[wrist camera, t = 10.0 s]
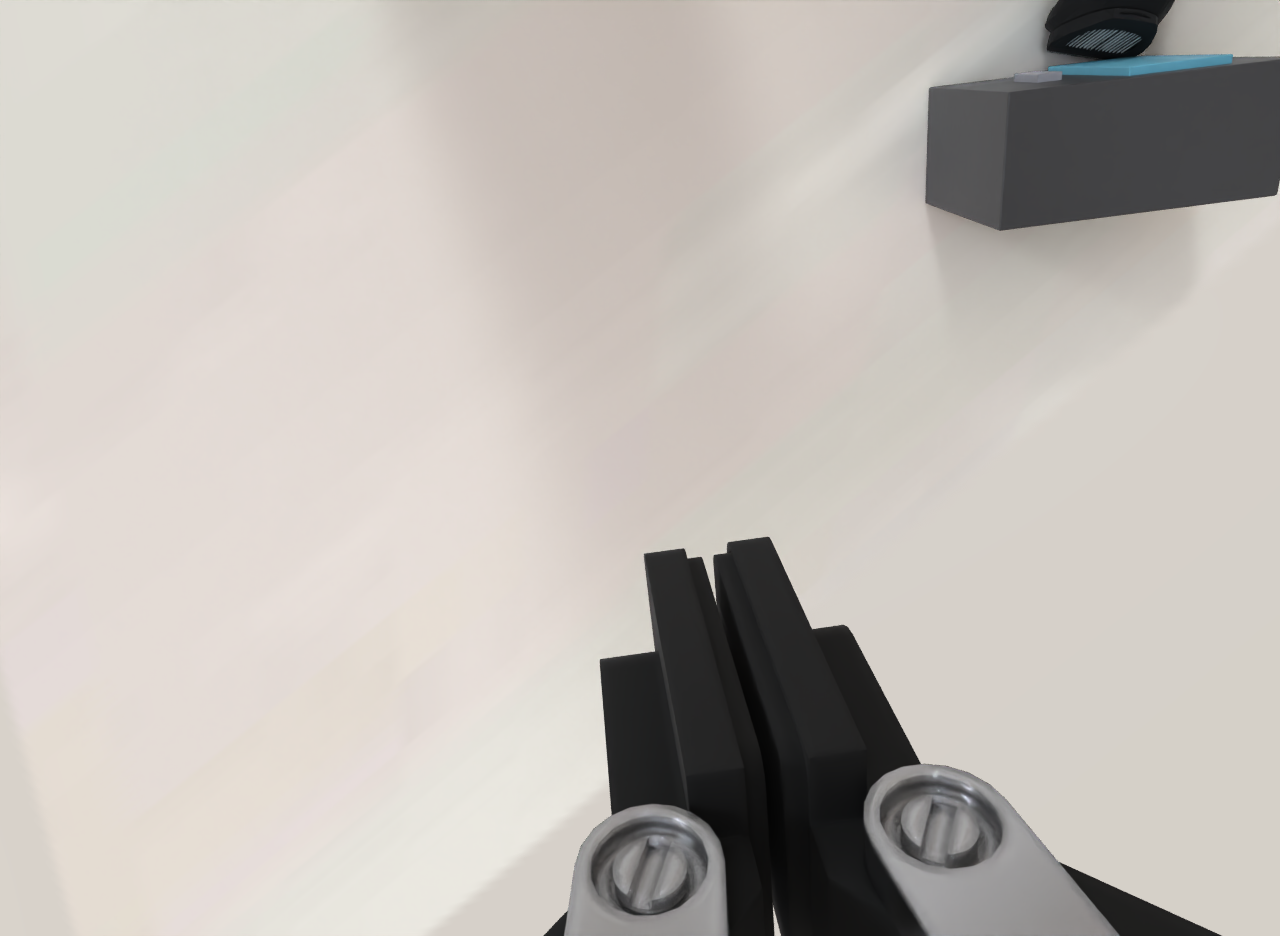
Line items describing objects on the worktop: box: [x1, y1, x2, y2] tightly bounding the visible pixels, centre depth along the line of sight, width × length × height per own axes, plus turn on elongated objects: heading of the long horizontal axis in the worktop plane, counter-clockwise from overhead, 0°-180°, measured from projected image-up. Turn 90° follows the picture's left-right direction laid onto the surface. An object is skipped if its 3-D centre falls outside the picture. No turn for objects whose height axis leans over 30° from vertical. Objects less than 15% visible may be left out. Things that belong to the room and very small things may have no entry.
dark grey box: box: [926, 54, 1280, 231], centre depth 29 cm, size 4×6×9 cm
